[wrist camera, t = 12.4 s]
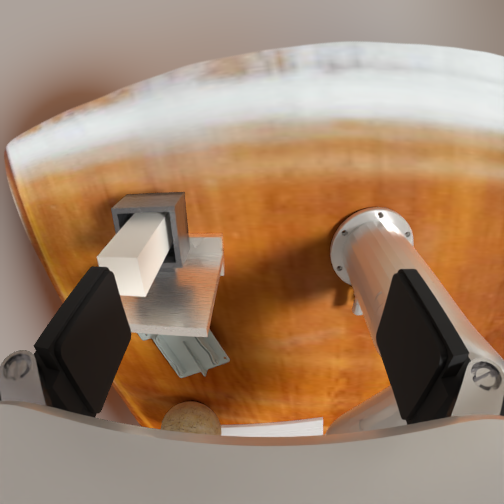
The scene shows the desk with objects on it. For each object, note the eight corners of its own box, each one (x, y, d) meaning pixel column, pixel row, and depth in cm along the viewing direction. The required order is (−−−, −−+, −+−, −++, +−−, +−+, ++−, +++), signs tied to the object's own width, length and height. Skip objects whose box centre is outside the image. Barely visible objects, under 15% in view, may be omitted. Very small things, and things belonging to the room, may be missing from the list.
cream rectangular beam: (174, 240, 36) (145, 296, 27) (143, 240, 37) (107, 294, 27) (170, 208, 35) (137, 257, 25) (138, 209, 35) (96, 257, 25)
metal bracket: (241, 367, 48) (171, 390, 52) (247, 348, 53) (182, 372, 57) (191, 292, 46) (125, 325, 50) (204, 279, 51) (141, 312, 55)
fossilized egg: (200, 424, 68) (192, 477, 55) (157, 401, 63) (142, 457, 50) (236, 408, 63) (231, 468, 50) (190, 382, 59) (177, 445, 46)
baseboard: (322, 436, 71) (322, 414, 65) (323, 445, 68) (323, 424, 63) (207, 443, 74) (194, 422, 68) (206, 451, 71) (193, 432, 66)
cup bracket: (224, 271, 45) (209, 353, 31) (134, 269, 46) (92, 342, 32) (219, 178, 39) (194, 234, 25) (118, 183, 39) (54, 236, 25)
